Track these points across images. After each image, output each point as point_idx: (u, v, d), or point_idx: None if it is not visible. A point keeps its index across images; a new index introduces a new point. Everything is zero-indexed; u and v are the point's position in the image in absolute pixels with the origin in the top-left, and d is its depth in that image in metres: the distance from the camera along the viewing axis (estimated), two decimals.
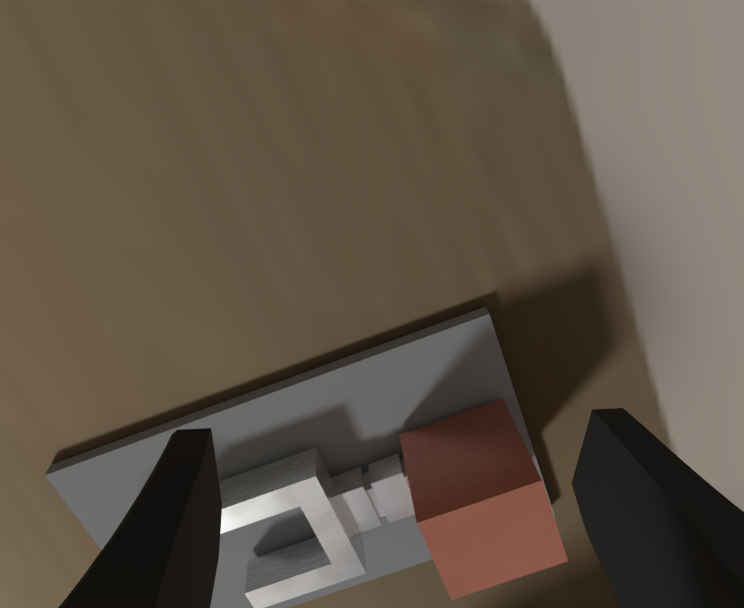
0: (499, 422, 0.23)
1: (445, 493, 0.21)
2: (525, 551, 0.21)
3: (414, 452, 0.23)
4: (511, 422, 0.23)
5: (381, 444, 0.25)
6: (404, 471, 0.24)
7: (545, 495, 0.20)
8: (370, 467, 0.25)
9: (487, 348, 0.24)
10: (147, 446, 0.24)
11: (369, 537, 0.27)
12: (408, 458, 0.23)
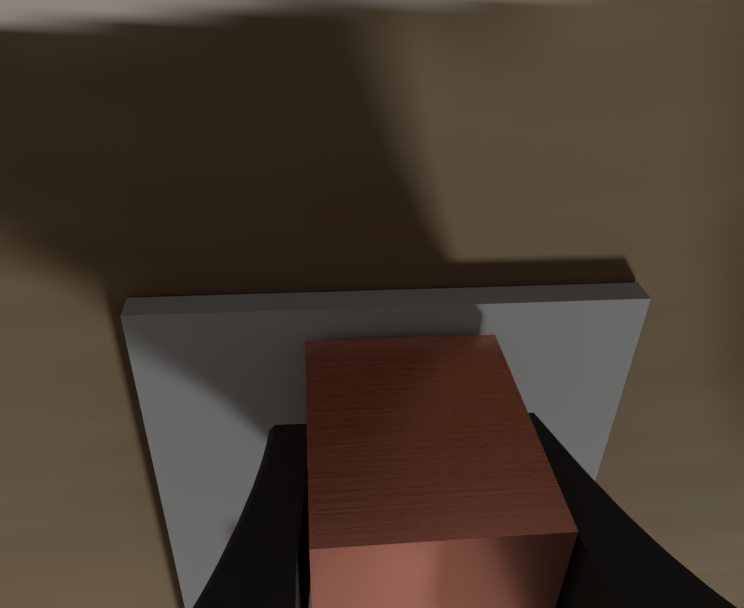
0: None
1: None
2: (493, 589, 0.10)
3: None
4: (306, 398, 0.11)
5: None
6: None
7: (355, 549, 0.09)
8: None
9: (195, 332, 0.12)
10: None
11: None
12: None
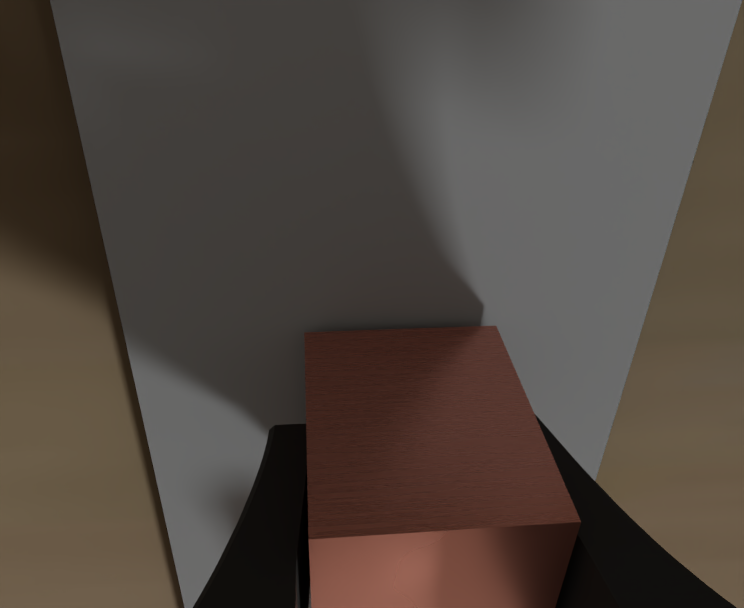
0: None
1: None
2: (494, 581, 0.09)
3: None
4: (305, 388, 0.11)
5: (323, 262, 0.12)
6: None
7: (355, 539, 0.09)
8: None
9: None
10: (187, 551, 0.16)
11: (531, 343, 0.13)
12: None
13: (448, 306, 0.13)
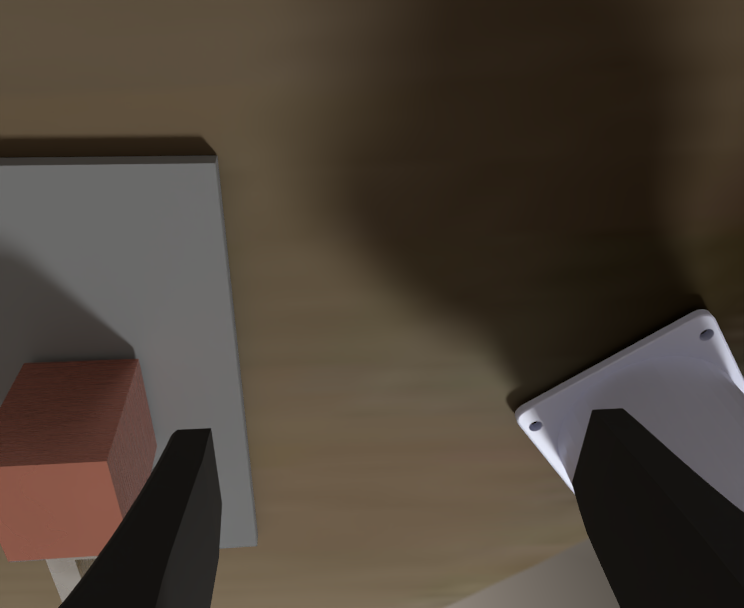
0: None
1: None
2: (77, 493, 0.19)
3: None
4: (8, 395, 0.20)
5: (28, 324, 0.21)
6: None
7: None
8: None
9: None
10: None
11: (170, 368, 0.23)
12: None
13: (111, 347, 0.22)
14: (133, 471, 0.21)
